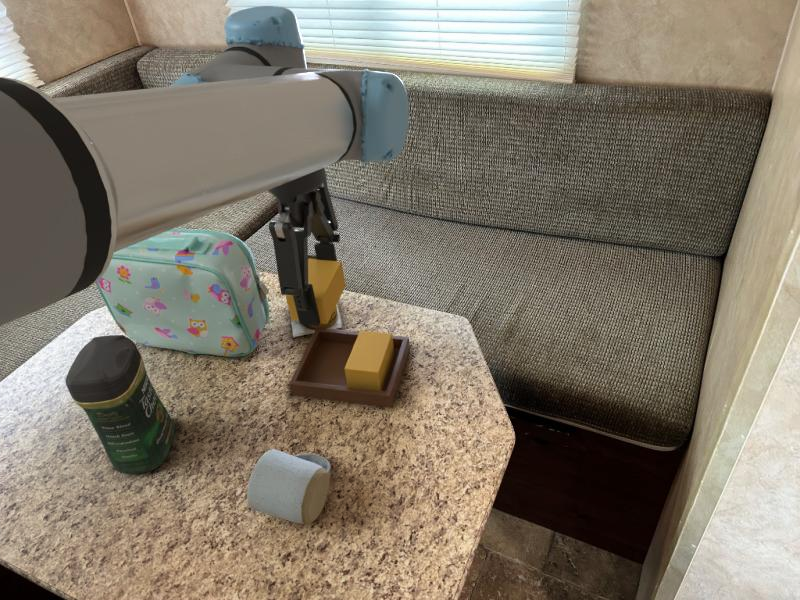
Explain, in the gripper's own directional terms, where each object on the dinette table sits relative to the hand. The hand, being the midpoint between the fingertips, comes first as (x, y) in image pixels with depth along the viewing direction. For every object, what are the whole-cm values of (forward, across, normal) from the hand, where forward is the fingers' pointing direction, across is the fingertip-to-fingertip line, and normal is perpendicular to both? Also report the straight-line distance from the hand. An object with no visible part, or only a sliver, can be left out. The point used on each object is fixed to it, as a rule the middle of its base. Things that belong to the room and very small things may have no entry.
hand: (321, 301), depth 85 cm
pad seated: (+14, +1, -6) cm, 15 cm away
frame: (+15, +1, -2) cm, 15 cm away
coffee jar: (+15, -18, +23) cm, 33 cm away
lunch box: (+15, +5, +26) cm, 30 cm away
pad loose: (0, 0, 0) cm, 0 cm away
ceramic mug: (+15, -21, -2) cm, 26 cm away
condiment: (+15, +12, +8) cm, 21 cm away
